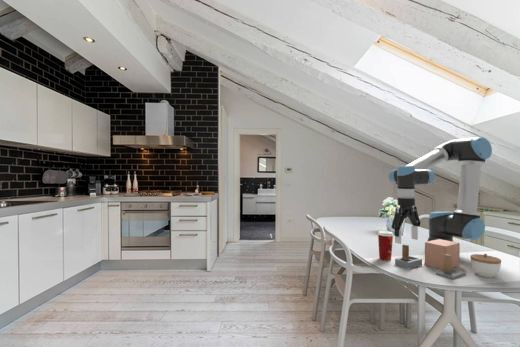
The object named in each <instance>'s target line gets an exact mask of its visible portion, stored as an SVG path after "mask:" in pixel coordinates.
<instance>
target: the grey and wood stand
mask: <svg viewBox="0 0 520 347" xmlns="http://www.w3.org/2000/svg"><path fill="white" fill-rule="evenodd" d="M435 275H437V276H440V277H443V278H448V279H451V280H456V279H458V278H461V277H463V276H466V272H465V271H461V270H457V269H455V268H454V269H453V268H452V255H449V254H444V270H443V269H440V270H438V271H436V272H435Z"/></svg>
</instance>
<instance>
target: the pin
mask: <svg viewBox="0 0 520 347" xmlns="http://www.w3.org/2000/svg"><path fill="white" fill-rule="evenodd" d="M401 247H402V249H401V250H402V251H401V257H402V260H403V261H409V256H410V254H409V253H410V252H409V251H410V245H409V244H402V246H401Z"/></svg>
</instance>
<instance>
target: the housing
mask: <svg viewBox="0 0 520 347" xmlns="http://www.w3.org/2000/svg"><path fill="white" fill-rule="evenodd" d="M427 241H428V240H427ZM427 241H425V242H424V265H425V266H426V265H427V266H429V267H433V268H437V269H440V270H444V254H449V255H452V269H453V268H456V267H459V266H460V251H461V250H460V249H461V248H460V247H461V245H460V242H455V241H454V242H452V241H447V240H442V239H437V240H432V241H428V242H427Z"/></svg>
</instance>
